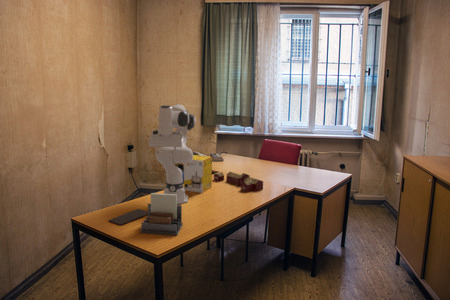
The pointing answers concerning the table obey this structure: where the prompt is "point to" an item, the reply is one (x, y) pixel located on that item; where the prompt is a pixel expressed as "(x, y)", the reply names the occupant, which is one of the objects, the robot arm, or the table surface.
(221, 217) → the table surface
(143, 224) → the rack
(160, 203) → the white thin panel
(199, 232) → the table surface
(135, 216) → the smartphone
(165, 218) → the offcut front
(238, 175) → the toy houses
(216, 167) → the table surface
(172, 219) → the block
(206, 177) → the packaging box
